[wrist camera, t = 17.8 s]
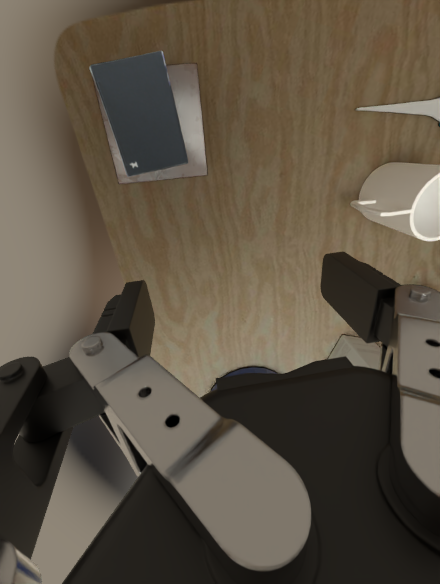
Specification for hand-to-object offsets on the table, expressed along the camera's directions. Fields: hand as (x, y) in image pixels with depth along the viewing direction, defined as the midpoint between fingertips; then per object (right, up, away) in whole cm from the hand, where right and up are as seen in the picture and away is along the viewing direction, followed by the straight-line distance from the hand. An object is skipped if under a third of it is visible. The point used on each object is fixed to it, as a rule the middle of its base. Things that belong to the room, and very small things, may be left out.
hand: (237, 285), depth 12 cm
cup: (+22, +14, +27) cm, 37 cm away
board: (-8, +19, +20) cm, 29 cm away
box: (-8, +19, +19) cm, 28 cm away
